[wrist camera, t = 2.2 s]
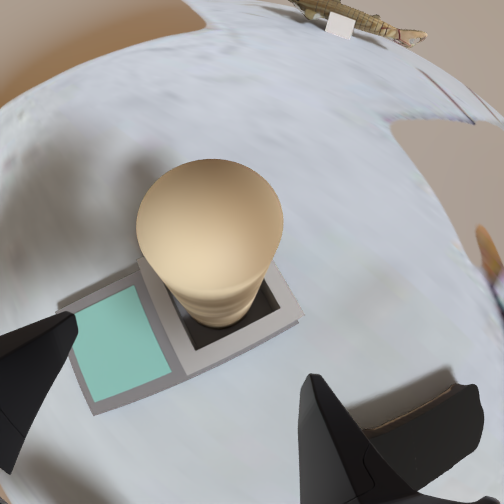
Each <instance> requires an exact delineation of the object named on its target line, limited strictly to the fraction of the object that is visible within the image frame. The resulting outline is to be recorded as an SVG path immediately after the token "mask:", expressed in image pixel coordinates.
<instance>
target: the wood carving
mask: <svg viewBox="0 0 504 504" xmlns="http://www.w3.org/2000/svg"><path fill="white" fill-rule="evenodd" d="M288 1H290V2H292V3H293V4H294V6H296V7H297V8H298V9H299V10H300V11H301V10H302V11H301V12H302V14H303V15H304V16H305V17H306V18H307V19H308V20H317V19H316V18H325V19H327V20H328V22H327V26H326V29H325V32H328V33H331V34H334V35H337V36H339V37H342V38H345V39H347V40H349V39H350V37H351V36H352V33H353V30H354V28H356V29H359V30H362V31H365V32H368V33H372V34H375V35H379V36H383V37H386V38H388V39H390V40H392V41H394V42H396V43H398V44H400V45H402V46H404V47H406V48H411V47H413V46H415V45H414V43H413V41H414V40H415V39H416V38H420V41H419V42H418V43H420V42H422V41H423V40H425V39H426V37H427V34H426V33H425V32H422V31H416V30H402V29H397V28H395V27H393V26H391V25H389V24H387V23H385V22H383V21H381V20H380V16H379V15H373V16H371V15H368V14H366V13H364V12H361V11H359V10H356V9H354V8H351V7H349V6H346V5H343V4H341V2H340V1H341V0H288ZM303 11H305V12H303ZM393 39H394V40H393ZM395 39H396V40H398V41H400V42H401V43H399V42H397V41H395ZM418 43H417V44H418Z"/></svg>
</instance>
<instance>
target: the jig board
mask: <svg viewBox="0 0 504 504" xmlns="http://www.w3.org/2000/svg"><path fill="white" fill-rule="evenodd" d="M137 263H138V266H139V268H140V270H138V271H136V272H134V273H132V274H130V275H128V276H126V277H124V278H122V279H120V280H118V281H116V282H113V283H111V284H109V285H107V286H105V287H103V288H101V289H99V290H97V291H95V292H93V293H91V294H89V295H87V296H85V297H83V298H81V299H79V300H77V301H75V302H73V303H71V304H69V305H67V306H65V307H63V308H61V309H60V310H58V311H56V312H55V313H56V314H58V313H61V312H64V311H69V312H71V313H73V314H75V316H76V320H77V325H78V335H77V338H76V340H75V342H74V344H73V346H72V348H71V350H70V352H69V354H68V356H69V359H70V362H71V365H72V368H73V370H74V373H75V375H76V378H77V380H78V383H79V385H80V388H81V390H82V392H83V395H84V397H85V399H86V402H87V404H88V406H89V408H90V410H91V412H92V414H93V416H95V415H98V414H101V413H104V412H107V411H110V410H113V409H116V408H119V407H122V406H124V405H127V404H130V403H132V402H135V401H138V400H140V399H143V398H145V397H148V396H151V395H153V394H156V393H158V392H160V391H163V390H165V389H168V388H170V387H172V386H175V385H177V384H179V383H182V382H184V381H186V380H189V379H191V378H193V377H195V376H197V375H200V374H202V373H204V372H206V371H208V370H210V369H213V368H215V367H217V366H219V365H221V364H223V363H225V362H227V361H229V360H231V359H233V358H235V357H237V356H239V355H241V354H243V353H245V352H247V351H249V350H251V349H253V348H255V347H256V346H258V345H260V344H262V343H264V342H266V341H268V340H270V339H271V338H273V337H275V336H277V335H279V334H280V333H282V332H284V331H286V330H288V329H289V328H291V327H293V326H295V325H296V324H298V323H299V322H298V320H297V319H299V318H301V317H302V316H304V315H305V314H304V312H303V310H302V309H301V307H300V305H299V304H298V302H297V300H296V298H295V297H294V295H293V293H292V291H291V290H290V288H289V286H288V285H287V283H286V281H285V279H284V278H283V276H282V274H281V273H280V271H279V269H278V267H277V266H276V264H275V262H274V261H273V259H272V261H271V263H270V265H269V268H268V270H267V272H266V274H265V276H264V279H263V281H262V283H261V285H260V287H259V290H258V292H257V294H256V296H255V298H254V300H253V303H252V305H251V307H250V309H249V311H248V313H247V315H246V316H245V317H244V319H243V320H242V321H240V322H239V323H238V324H236V325H235V326H233V327H230V328H227V329H222V330H215V329H210V328H206V327H204V326H202V325H200V324H199V323H197V322H196V321H195V320H194V319H193V318H192V317H191V315H190V314H189V313H188V312H187V311H186V310H185V308H184V307H183V306H182V305H181V303H180V302H179V301H178V300H177V299H176V297H175V296H174V295H173V294H172V292H171V291H170V290H169V289H168V287H167V286H166V285H165V283H164V282H163V281H162V280H161V278H160V277H159V276H158V274H157V273H156V272H155V271H154V269H153V268H152V267H151V265H150V264H149V263H148V261H147V260H146V258H145V256H143V257H141V258H139V259H137Z"/></svg>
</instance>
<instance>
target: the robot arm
mask: <svg viewBox="0 0 504 504" xmlns="http://www.w3.org/2000/svg"><path fill="white" fill-rule="evenodd" d="M77 335H78V325H77V320H76V316H75V314H73V313H71V312H69V311H64V312H61V313H58V314H56V315H53V316H50V317H48V318H45V319H43V320H40V321H37V322H35V323H32V324H30V325H27V326H24V327H22V328H19V329H17V330H14V331H12V332H9V333H6V334H4V335H1V336H0V468H1V469H2V470H4V471H5V472H6V473H8V474H9V475H10V474H11V472H12V470H13V467H14V465H15V462H16V460H17V457H18V455H19V452H20V450H21V447H22V445H23V443H24V440H25V438H26V436H27V434H28V431H29V429H30V427H31V425H32V423H33V421H34V419H35V417H36V415H37V413H38V411H39V409H40V407H41V405H42V403H43V401H44V399H45V397H46V395H47V393H48V391H49V390H50V388H51V386H52V384H53V382H54V381H55V379H56V377H57V375H58V374H59V372H60V370H61V368H62V367H63V365H64V363H65V361H66V359H67V357H68V354H69V352H70V350H71V348H72V346H73V344H74V342H75V340H76V338H77ZM369 442H370V441H369V440H368V438H367V437H366V436H365V434H364V433H363V432H362V430H361V429H360V428H359V426H358V425H357V424H356V422H355V421H354V420H353V418H352V417H351V416H350V414H349V413H348V412H347V410H346V409H345V408H344V406H343V405H342V403H341V402H340V401H339V399H338V398H337V397H336V395H335V394H334V393H333V391H332V390H331V388H330V387H329V386H328V384H327V383H326V382H325V380H324V379H323V378H322V376H321V375H319V374H312V373H311V374H309V375H308V376H307V378H306V380H305V382H304V383H303V385H302V387H301V391H300V404H299V418H298V445H299V470H300V504H500V502H499V501H498V500H497V499H495V498H493V497H489V496H485V497H483V498H481V499H480V500H478V501H476V502H472V503H463V502H457V501H451V500H446V499H441V498H436V497H432V496H428V495H424V494H421V493H419V492H417V491H416V490H414V489H413V488H412V487H411V486H410V485H409V484H407V483H406V482H405V481H404V480H403V479H402V478H401V477H400V476H399V475H398V474H397V473H396V472H395V471H394V469H393V468H392V467H391V466H390V465H389V464H388V463H387V462H386V461H385V460H384V459H383V457H382V456H381V455H380V454H379V453H378V451H377V450H376V449H375V447H374V446H373V445H372V444H371V443H369ZM0 504H8V503H7V502H5V501H4V500H3V499H2V498H1V497H0Z"/></svg>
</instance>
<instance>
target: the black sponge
mask: <svg viewBox="0 0 504 504" xmlns="http://www.w3.org/2000/svg"><path fill="white" fill-rule="evenodd" d="M483 426H484V412H483V409H482V406H481V403H480V397H479V391H478V387H477V386H476V385H475V384H470V385H461V384H453V385H451V387H450V388H449V389H448V390H447V391H445V392H443V393H442V394H441V395H439V396H438V397H436V398H434V399H433V400H431V401H429V402H427V403H426V404H424V405H422V406H420V407H418V408H417V409H415V410H413V411H411V412H409V413H407V414H405V415H402V416H400V417H398V418H396V419H394V420H392V421H389V422H387V423H385V424H383V425H381V426H379V427H377V428H375V429H364V430H362V432H363V433H364V434H365V436H366V437H367V438H368V440H369V441H370V442H369V443H371V444H372V445H373V446H374V447H375V449H376V450H377V451H378V453H379V454H380V455H381V456H382V457H383V459H384V460H385V461H386V462H387V463H388V464H389V465H390V466H391V467H392V468H393V469H394V471H395V472H396V473H397V474H398V475H399V476H400V477H401V478H402V479H403V480H404V481H405V482H406V483H407V484H409V485H410V486H411V487H412V488H413V489H414V490H416V491H418V490H420V489H421V488H423V487H425V486H426V485H427V484H429V483H430V482H432V481H433V480H435V479H436V478H438V477H439V476H440V475H442V474H443V473H444V472H446V471H448V470H449V469H451V468H452V467H453V466H454V465H455V464H457V463H458V462H459V461H460V460H462V459H463V458H465V457H466V456H467V455H469V454H471V453H472V452H473V451H474V450H475V449H476V448H477V447H478V444H479V442H480V438H481V435H482V431H483Z"/></svg>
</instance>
